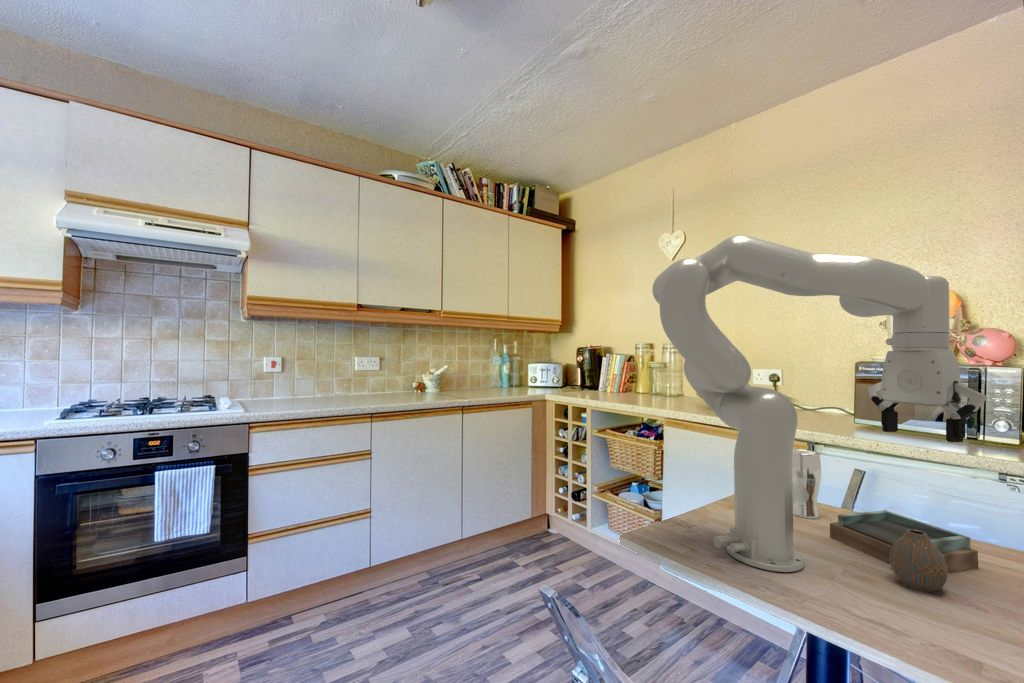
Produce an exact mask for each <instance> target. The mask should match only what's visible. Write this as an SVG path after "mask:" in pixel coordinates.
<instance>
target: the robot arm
mask: <svg viewBox="0 0 1024 683" xmlns="http://www.w3.org/2000/svg"><path fill="white" fill-rule="evenodd" d="M734 282H740V283H741V282H742V283H745V284H749V285H752V286H756V287H760V288H763V289H767V290H770V291H773V292H776V293H780V294H783V295H788V296H793V297H794V296H796V297H817V296H818V297H820V296H835V297H836V296H837V297H838V296H839V298H838V300H839V305H840V307H841V308H842V310H843V311H845V312H846V313H848V314H850V315H852V316H855V317H858V318H859V317H860V318H872V317H879V316H892V334H891V338H887V339H886V340H885V343H886V345H887V346H891V348H892V350H887V351H886V355H885V359H884V363H883V366H882V367H883V368H882V372H881V381H880V382H877V383H875V384H873V385H870V386H868V387H866V392H867V393H868V394H869V397H871V401H872V402H873V403H874V404H875V406H877V409H878V411H879V412H880V411H881V412H880V413H881V419H880V420H881V423H880V424H881V427H882V431H883V433H885V432H886V433H896V432H898V431H899V412H898V411H897V410H895V409H896V408H897V407H898V406H900V405H901V404H904V405H914V406H915V405H916V406H926V407H940V408H941V409H942V410H943V411H944V412H945V413H946V414H947V415H948V416H949V418H946V420H945V440H946V441H947V442H949V443H963V441H964V439H965V438H966V420H968V419H970V417H972V416H973V415H974V414H976V413H977V412H979V411H980V408H981V407H982V406H983V404H984V403H985V402H986V400H987V399H988V397H987V396H986V395H985V394H984V393H981V392H979V391H977V390H974V389H972V388H970V387H968V386H966V385H963V384H962V381H961V375H960V374H961V373H960V368H959V363H958V361H957V357H956V355H955V354H956V353H955V352H954V351H952V350H950V346H951V345H950V283H949V280H947V279H946V278H945V277H943V276H939V275H938V276H937V275H923V274H922V273H921V272H919V271H917V270H915V269H913V268H911V267H909V266H905V265H902V264H899V263H896V262H891V261H888V260H884V259H879V258H874V257H868V256H860V255H859V256H858V255H849V254H848V255H847V254H835V253H834V254H833V253H824V252H823V253H820V252H809V251H805V250H801V249H798V248H794V247H790V246H786V245H783V244H779V243H775V242H773V241H769V240H765V239H761V238H758V237H754V236H749V235H745V234H744V235H743V234H742V235H741V234H736V235H732V236H730V237H728V238H725V239H724V240H722V241H721V242H720V243H718V244H717V245H715V246H714V247H712V248H711V249H710V250H707V251H705V252H703V253H702V254H701V255H700V254H699V255H698V256H696V257H695V258H691V257H687V258H682V259H678V260H677V261H675V262H673V263H671V265H669V266H668V267H667V268H666V269H664V270H663V271H662V272H661V273H659V274H658V276H657V277H656V278H655V279H654V282H653V285H652V291H651V292H652V296H653V298H654V300H655V301H656V303H657V304H658V305H659V317H660V324H661V326H662V328H663V331H664V333H665V335H666V337H667V338H668V340H669V341H670V343H671V344H672V345H673V346H674V348H675V349H676V351H678V353H679V354H680V355H681V357H682V358H683V359H684V362H683V373H684V376H685V378H686V380H687V382H688V383H689V385H690V386H691V387H692V389H693V390H694V391H695V392H696V393H697V395H698V396H699V397H700V399H702V400H703V402H704V403H705V404H706V405H707V406H708V407H709V409H711V410H712V412H713V413H714V414H715V415H716V416H717V417H718V418H719V419H720V420H721V421H722V422H723V423H724V424H725V425H727V426H728V427H729V428H732V429H734V430H736V431H738V432H737V437H736V442H735V444H734V446H735V447H734V453H733V473H734V474H733V477H734V478H733V479H734V480H733V483H734V484H733V486H734V487H733V488H734V490H733V491H734V492H733V496H734V498H733V500H734V505H733V506H734V510H733V511H734V526H733V527H729V533H727V534H726V535H717V536H714V537H713V538H712V541H713V544H714V546H715V547H716V548H725V550H726V552H727V553H728V554H729V555H730V556H732V557H733V558H734V559H736V560H737V561H739V562H742V563H744V564H746V565H749V566H750V567H755V568H757V569H761V570H766V571H771V572H776V573H792V572H798V571H800V570H801V569H803V568H804V567H805V558H804V556H803V555H802V554H801V553H800V552H799V551H797V550H796V549H794V515H793V476H792V457H793V449H794V445H795V444H794V443H795V439H796V433H797V427H798V412H797V409H796V407H795V405H794V404H793V402H792V400H790V398H789V397H787V396H786V395H785V394H783V393H781V392H780V391H777V390H775V389H773V388H768V387H761V386H751V385H750V384H749V382H750V380H751V377H752V376H751V375H752V370H751V366H750V362H749V361H748V360H747V358H746V357H745V355H743V353H742V352H741V351H740V350H739V349H738V347H736V346H735V345H734V344H733V343H732V341H731V340H730V339H729V338H728V337H727V336H726V335H725V334H724V332H722V331H721V329H720V328H719V327H718V326H717V325H716V323H715V322H714V321H713V319H712V318H711V316H710V315H709V313H708V310H707V304H706V300H707V299H706V298H707V295H710V294H712V293H713V292H714V293H715V292H717V291H718V290H720V289H723V288H724V287H726V286H728V285H730V284H733V283H734ZM963 396H964V397H966V398H968V401H967V403H966V404H965V405H963V406H961V402H962V397H963Z"/></svg>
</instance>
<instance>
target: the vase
mask: <svg viewBox="0 0 1024 683" xmlns="http://www.w3.org/2000/svg"><path fill="white" fill-rule="evenodd" d="M889 557H890V563H889V564H890V567H891V569H892V572H893V574H894V575H895V576H896V578H897V579H898V580H899V581H900V582H901V583H902V584H903V585H905V586H907V587H909V588H911V589H913V590H916V591H921V592H925V593H935V592H937V591H939V590H941V589H943V587H945V585H946V582H948V581H947V580H948V575H949V573H948V568H947V564H946V561H945V559H944V557H943V555H942V554H941V552H940V551H939V550H938V549H937V547H936V546H935V545H934V544H933V543H932V542H931V541H930V539H929V537H928V535H927V534H926V533H924V532H922V531H919V530H914V529H908V530H907V531H906V532H905V534H904V535H903V536H901V537H900V538H899V539H897V540H896V541H895V542H894V543H893V545H892V547H891V549H890V554H889Z"/></svg>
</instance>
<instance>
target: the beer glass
mask: <svg viewBox="0 0 1024 683" xmlns="http://www.w3.org/2000/svg"><path fill="white" fill-rule="evenodd" d="M820 454H821V453H820V452H818V451H814V450H808V449H802V448H793V457H792V476H793V516H795V515H796V516H795V517H798V516H799V518H802V517H803V518H802V519H808V518H809V519H810V520H816V519H819V518H820V512H819V509H818V508H819V506H818V495H819V492H820V487H821V481H822V465H821V455H820Z"/></svg>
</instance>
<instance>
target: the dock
mask: <svg viewBox="0 0 1024 683" xmlns="http://www.w3.org/2000/svg"><path fill="white" fill-rule="evenodd" d="M837 519H838V520H837V522H830V523H829V538H830V539H832V540H834V541H837V542H839V543H842V544H845V545H846V546H848V547H852V548H853V549H855V550H858V551H861V552H863V553H865V554H868V555H871V556H872V557H874V558H877V559H879V560H881V561H884V562H886V563H889V564H890V557H889V554H890V549H891V547H892V545H893V543H894V542H895V541H896V540H897V539H899V538H900V537H901V536H903V535H904V534H905V532H906V531H907V530H908V529H914V530H919V531H922V532H924V533H926V534H927V535H928V537H929V539H930V541H931V542H932V543H933V544H934V545H935V546H936V547H937V549H938V550H939V551H940V552H941V554H942V555H943V557H944V559H945V561H946V564H947V568H948V574H949V573H957V572H961V571H968V569H969V570H975V569H974V568H976V569H978V568H979V552H978V550H975V549H972V548H971V537H969V536H966V535H963V534H961V533H957V532H954V531H950V530H948V529H945V528H941V527H938V526H935V525H932V524H930V523H925V522H923V521H920V520H916V519H913V518H911V517H907V516H904V515H901V514H898V513H894V512H892V511H888V510H886V509H885V510H875V511H874V510H873V511H863V512H862V511H861V512H853V513H844V514H843V513H842V514H838V515H837Z"/></svg>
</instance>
